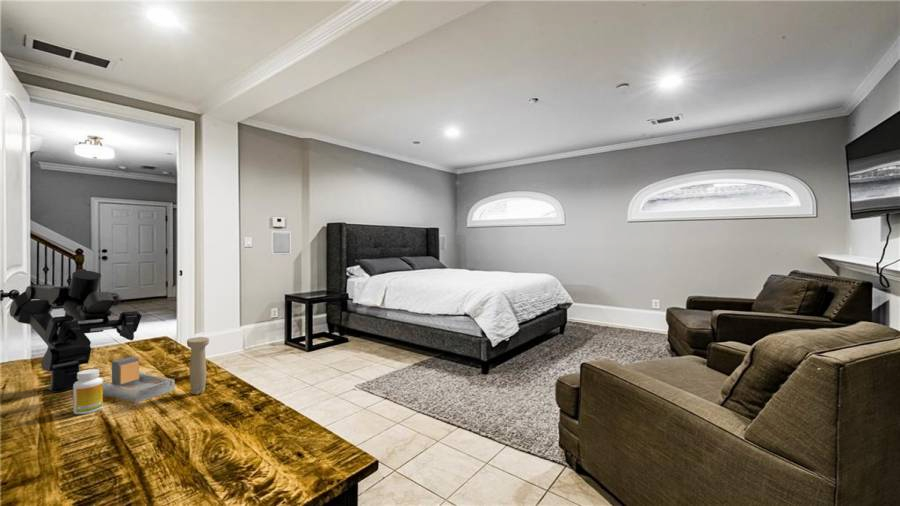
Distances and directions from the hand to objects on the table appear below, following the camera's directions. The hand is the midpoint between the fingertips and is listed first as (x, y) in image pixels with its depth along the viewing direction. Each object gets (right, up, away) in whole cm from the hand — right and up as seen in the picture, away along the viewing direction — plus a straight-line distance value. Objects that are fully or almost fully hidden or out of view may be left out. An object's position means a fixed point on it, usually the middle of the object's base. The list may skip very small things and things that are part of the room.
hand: (112, 341), depth 98 cm
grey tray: (0, -16, +9) cm, 18 cm away
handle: (+17, -17, +8) cm, 25 cm away
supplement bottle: (-3, -17, -3) cm, 17 cm away
